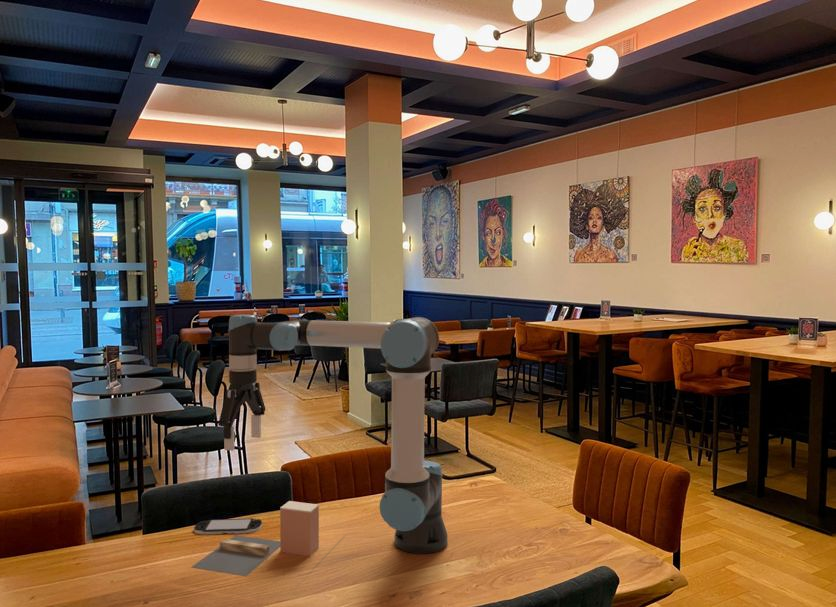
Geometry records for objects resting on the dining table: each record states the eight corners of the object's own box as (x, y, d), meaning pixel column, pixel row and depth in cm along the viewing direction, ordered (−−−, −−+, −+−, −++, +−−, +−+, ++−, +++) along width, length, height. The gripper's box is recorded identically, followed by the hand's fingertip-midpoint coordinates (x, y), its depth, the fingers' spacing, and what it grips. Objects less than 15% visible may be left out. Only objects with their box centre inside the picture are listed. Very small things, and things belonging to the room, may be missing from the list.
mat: (285, 545, 168) (285, 542, 168) (246, 579, 149) (246, 576, 149) (235, 537, 173) (235, 535, 173) (191, 570, 153) (191, 567, 153)
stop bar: (269, 552, 162) (269, 545, 162) (265, 555, 160) (265, 548, 160) (224, 545, 166) (224, 538, 166) (220, 549, 164) (219, 541, 164)
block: (318, 550, 165) (318, 504, 164) (310, 559, 160) (310, 511, 159) (289, 546, 167) (289, 500, 167) (280, 554, 163) (280, 507, 162)
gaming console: (190, 539, 173) (190, 530, 173) (199, 526, 182) (199, 517, 181) (258, 537, 174) (258, 528, 174) (264, 524, 183) (264, 516, 183)
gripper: (254, 362, 182) (255, 431, 183) (204, 375, 158) (204, 454, 159) (276, 363, 180) (277, 433, 181) (228, 376, 156) (229, 457, 157)
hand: (243, 443), depth 170 cm, fingers open, 13 cm apart
